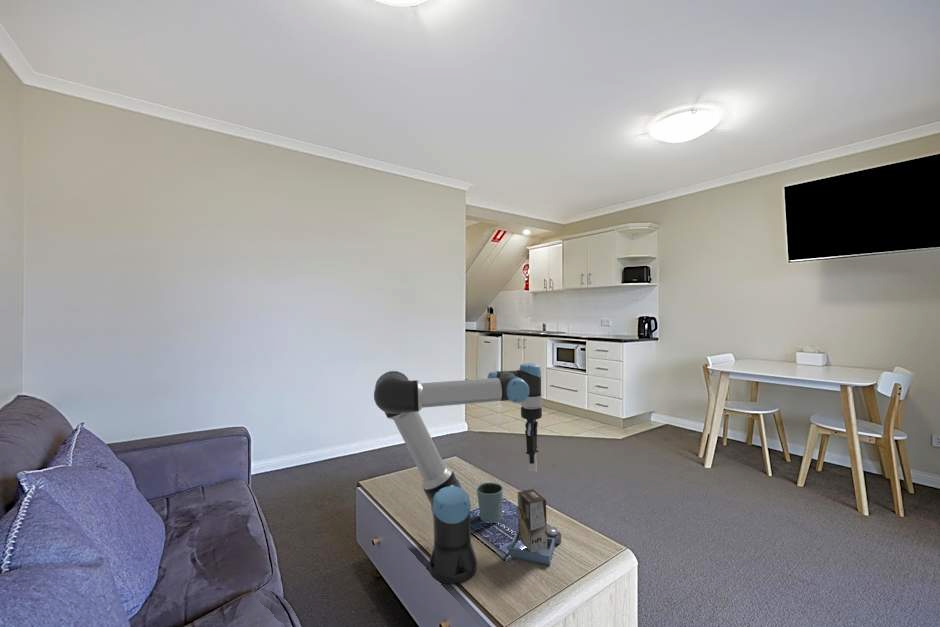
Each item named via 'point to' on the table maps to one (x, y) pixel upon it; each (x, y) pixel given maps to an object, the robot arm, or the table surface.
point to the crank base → (556, 538)
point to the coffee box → (532, 520)
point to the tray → (535, 557)
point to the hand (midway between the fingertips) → (532, 471)
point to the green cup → (490, 502)
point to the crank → (552, 531)
